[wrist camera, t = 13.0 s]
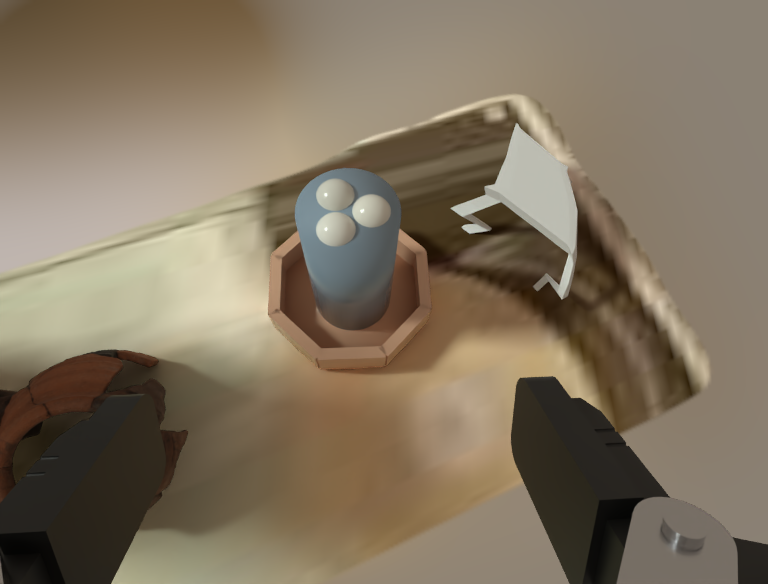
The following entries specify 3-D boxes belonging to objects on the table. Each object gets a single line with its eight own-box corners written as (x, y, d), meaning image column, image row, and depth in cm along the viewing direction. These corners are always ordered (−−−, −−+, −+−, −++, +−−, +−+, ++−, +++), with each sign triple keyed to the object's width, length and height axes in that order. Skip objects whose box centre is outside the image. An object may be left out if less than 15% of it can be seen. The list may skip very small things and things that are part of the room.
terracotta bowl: (273, 372, 30) (265, 362, 28) (279, 234, 34) (272, 215, 32) (431, 366, 31) (436, 355, 28) (418, 230, 35) (422, 211, 32)
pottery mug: (209, 348, 31) (189, 384, 23) (187, 488, 32) (160, 570, 24) (-4, 323, 28) (-111, 353, 20) (-25, 478, 29) (-138, 567, 21)
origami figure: (424, 197, 36) (432, 153, 31) (514, 155, 38) (534, 108, 33) (518, 330, 32) (543, 302, 27) (613, 275, 34) (652, 241, 29)
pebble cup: (314, 331, 31) (291, 253, 21) (315, 262, 33) (294, 161, 23) (392, 329, 31) (405, 250, 21) (388, 259, 33) (398, 159, 23)
